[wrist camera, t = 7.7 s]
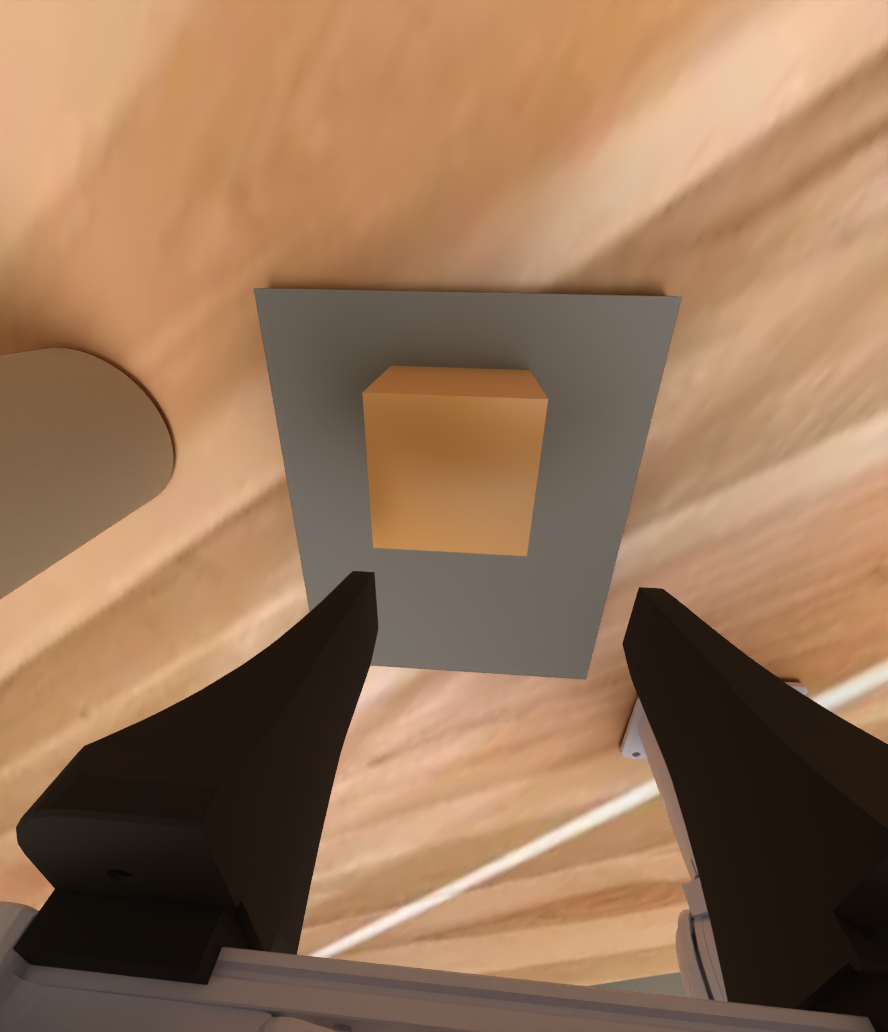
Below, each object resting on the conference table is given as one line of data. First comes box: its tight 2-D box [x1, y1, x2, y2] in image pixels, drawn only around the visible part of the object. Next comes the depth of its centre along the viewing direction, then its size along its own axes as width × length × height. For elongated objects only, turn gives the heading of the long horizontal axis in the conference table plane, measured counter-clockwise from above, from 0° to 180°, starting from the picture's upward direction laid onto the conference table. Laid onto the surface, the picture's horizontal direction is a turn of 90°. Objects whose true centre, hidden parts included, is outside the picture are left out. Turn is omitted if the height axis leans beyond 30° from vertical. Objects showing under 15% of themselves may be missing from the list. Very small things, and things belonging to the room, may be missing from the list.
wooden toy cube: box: [362, 366, 548, 556], centre depth 16 cm, size 6×6×5 cm
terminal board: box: [254, 288, 682, 679], centre depth 20 cm, size 16×20×5 cm
